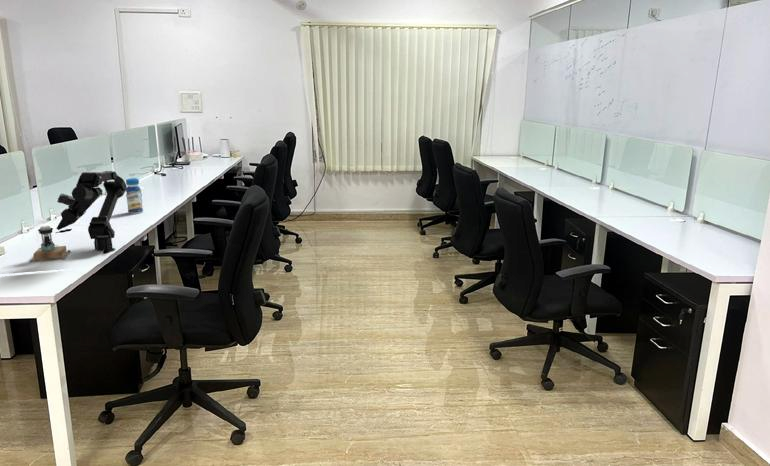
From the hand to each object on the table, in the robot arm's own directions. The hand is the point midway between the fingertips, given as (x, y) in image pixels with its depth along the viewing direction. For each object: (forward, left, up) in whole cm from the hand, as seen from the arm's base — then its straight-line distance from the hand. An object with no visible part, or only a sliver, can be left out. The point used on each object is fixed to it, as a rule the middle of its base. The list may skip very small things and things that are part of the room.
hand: (60, 226), depth 231 cm
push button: (+4, +3, -10) cm, 11 cm away
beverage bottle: (+28, -89, -14) cm, 95 cm away
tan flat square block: (+4, +3, -12) cm, 13 cm away
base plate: (+4, +3, -13) cm, 14 cm away
